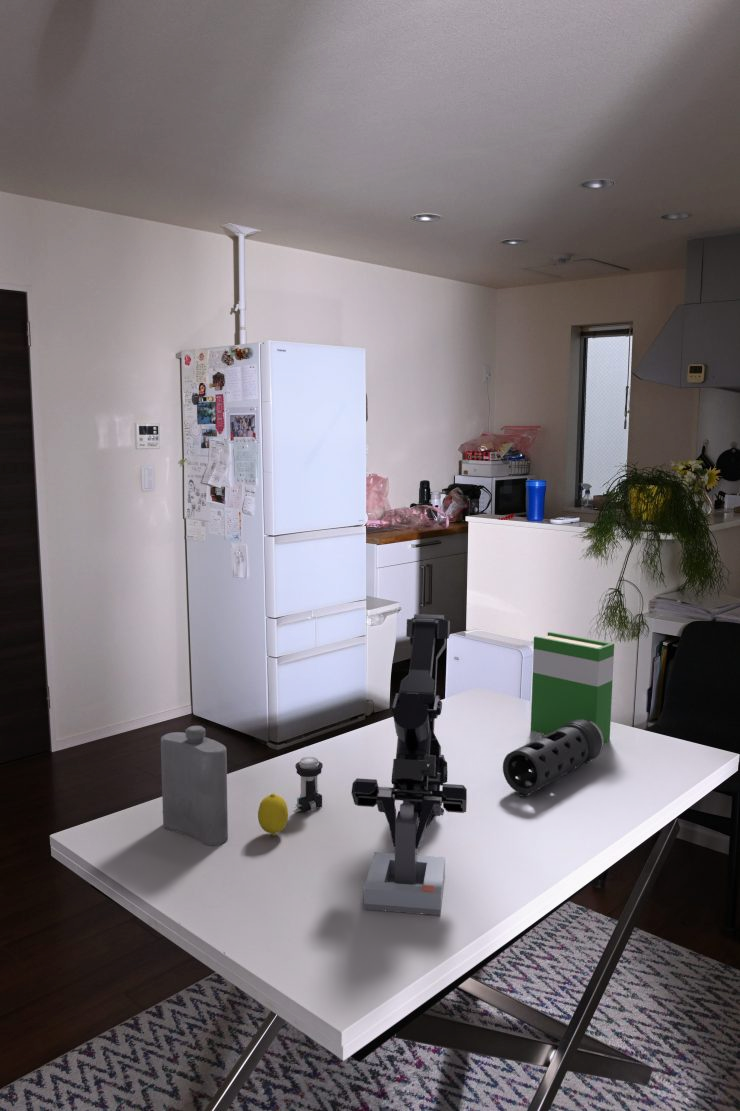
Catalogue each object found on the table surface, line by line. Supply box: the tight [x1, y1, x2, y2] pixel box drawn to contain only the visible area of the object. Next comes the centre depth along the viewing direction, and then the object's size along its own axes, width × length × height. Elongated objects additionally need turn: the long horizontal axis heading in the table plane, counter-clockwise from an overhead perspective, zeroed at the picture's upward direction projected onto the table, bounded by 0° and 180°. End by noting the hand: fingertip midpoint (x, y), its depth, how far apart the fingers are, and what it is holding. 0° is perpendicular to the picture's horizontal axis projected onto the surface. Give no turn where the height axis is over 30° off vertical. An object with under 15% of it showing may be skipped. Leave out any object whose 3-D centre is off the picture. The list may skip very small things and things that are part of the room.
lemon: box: [257, 793, 289, 836], centre depth 162 cm, size 6×6×8 cm
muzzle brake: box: [502, 719, 604, 798], centre depth 189 cm, size 10×28×10 cm, turn 138°
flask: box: [160, 725, 229, 847], centre depth 162 cm, size 15×6×20 cm, turn 54°
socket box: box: [363, 851, 446, 916], centre depth 142 cm, size 12×12×4 cm
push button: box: [291, 756, 324, 814], centre depth 172 cm, size 7×5×10 cm
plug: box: [394, 802, 419, 885], centre depth 141 cm, size 4×3×13 cm
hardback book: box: [530, 631, 615, 744], centre depth 214 cm, size 18×7×24 cm, turn 48°
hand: (405, 847), depth 140 cm, fingers closed on plug, 3 cm apart
